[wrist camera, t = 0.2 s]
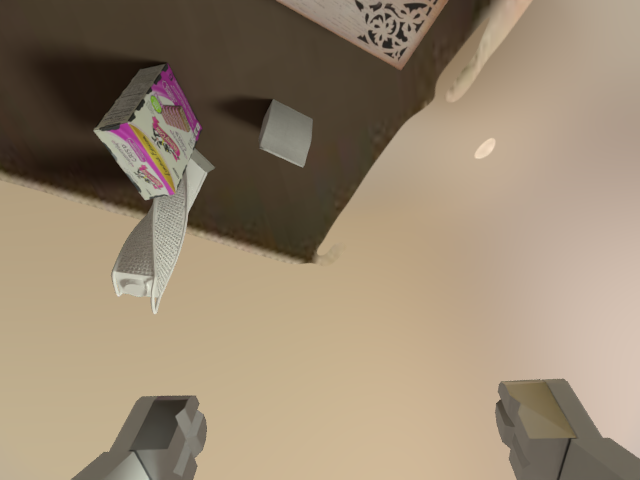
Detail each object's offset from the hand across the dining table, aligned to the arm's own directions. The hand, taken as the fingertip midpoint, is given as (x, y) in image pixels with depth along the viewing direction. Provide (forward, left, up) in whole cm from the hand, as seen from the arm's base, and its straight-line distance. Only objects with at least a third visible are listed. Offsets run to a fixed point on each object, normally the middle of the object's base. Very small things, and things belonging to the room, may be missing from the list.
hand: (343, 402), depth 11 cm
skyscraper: (+40, -4, -52) cm, 66 cm away
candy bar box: (+29, -10, -52) cm, 60 cm away
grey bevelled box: (+22, +6, -52) cm, 57 cm away
